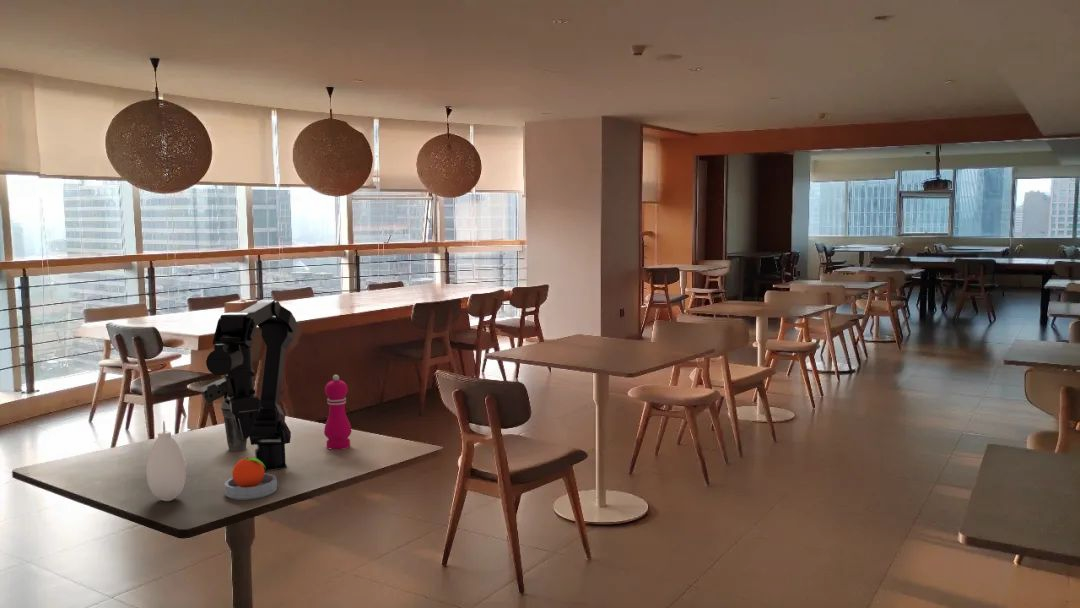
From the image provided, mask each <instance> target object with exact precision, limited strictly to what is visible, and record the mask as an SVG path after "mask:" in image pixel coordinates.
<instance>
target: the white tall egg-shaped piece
mask: <svg viewBox="0 0 1080 608" xmlns="http://www.w3.org/2000/svg"><path fill="white" fill-rule="evenodd" d="M165 422H166V421H165V420H163V421H162V431H159V432H158V433H157V437H156V439H155V441H154V442H153V444H152V446H151V448H150V450H149V453H148V456H147V461H146V462H147V463H146V480H147V484H148V487H149V489H150V491H151V493H152V494H153V496H154V497H156V498H158V499H159V500H160V501H164V502H170V501H173V500H174V499H176V498H177V497H178V495H179V494H181V493H182V491H183V489H184V487H185V484H186V480H187V479H186V478H187V464H186V460H185V456H184V454H183V450H182V449H181V446H180V444H179V443H178V442H177V441H176V439H175V438H174V437H173V436H172V432H170V431H166V423H165Z"/></svg>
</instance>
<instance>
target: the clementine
mask: <svg viewBox="0 0 1080 608" xmlns="http://www.w3.org/2000/svg"><path fill="white" fill-rule="evenodd" d="M263 466H264V467H265V465H264V464H263V462H261V461H260V460H258V459H256V458H255V457H250V456H246V457H244V458H241V459H240V460H238V461H237V462H236V464H235V465H234V466H233V467H232V468H233V469H232V472H231V473H232V474H231V475H232V478H233V480H234V481H235V483H236V484H237V485H238V486H240V487H244V488H248V487H255V486H257V485H258V484H259V483H260V482H261V481H262V479H263V477H264V473H265V471H264V467H263ZM265 469H266V468H265Z"/></svg>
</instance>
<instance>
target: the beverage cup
mask: <svg viewBox="0 0 1080 608" xmlns="http://www.w3.org/2000/svg"><path fill="white" fill-rule="evenodd" d="M227 398H228V397H227ZM227 398H226V399H227ZM221 413H222V416H223V423H224V427H225V428H224V429H225V434H226V442H227V447H228V451H230V452H240V451H244V450H246V449H247V442H248V438H247V439H244V438H243V436H242V432H241V429H238V428H237V424H236V421H235V417H234V415H233V414H232V413H231V411H230V405H228V404H227V403H226V402H225V401H224V399H223V400H222V403H221Z"/></svg>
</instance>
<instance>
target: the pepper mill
mask: <svg viewBox="0 0 1080 608" xmlns="http://www.w3.org/2000/svg"><path fill="white" fill-rule="evenodd" d="M346 383H347V382H345V381H343V380H341V379H340V376H339V375H338V374H334V375H333V376H332V380H330V381H329V382H327V383H326V384H325V387H324V393H325V395H326V396H327V397H328V398H327V399H326V400H327V404H328V407H329V410H328V411H329V412H328V416H327V420H326V423H325V424H324V429H323V430H324V431H323V433H324V436H325V437H326V439H327V440H326V448H327V449H328V448H331V449H330V450H332V449H339V450H344V449H343V448H345V449H348V448H350V446H351V439H350V438H349V437H350V436H351V434H352V426H351V425H352V424H351V422H350V420H349V419H348V416H347V414H346V403H347V397H346V396H347V393H348V392H349V391H348V389H349V388H348V385H347V384H346ZM347 447H348V448H347Z"/></svg>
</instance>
